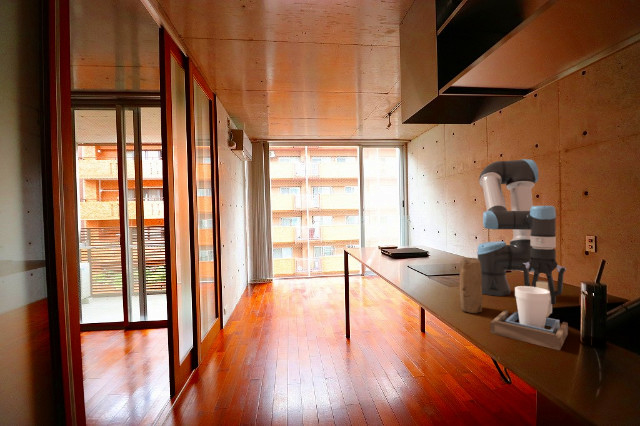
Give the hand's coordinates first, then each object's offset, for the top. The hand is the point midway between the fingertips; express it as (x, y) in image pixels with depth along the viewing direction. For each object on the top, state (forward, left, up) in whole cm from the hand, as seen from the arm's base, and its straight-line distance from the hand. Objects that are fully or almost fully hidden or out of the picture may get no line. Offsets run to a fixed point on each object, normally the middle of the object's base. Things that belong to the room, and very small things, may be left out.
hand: (543, 311), depth 113 cm
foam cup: (+17, +6, -2) cm, 18 cm away
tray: (+10, +4, -1) cm, 11 cm away
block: (+18, -16, -2) cm, 24 cm away
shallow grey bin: (+21, +8, -1) cm, 22 cm away
